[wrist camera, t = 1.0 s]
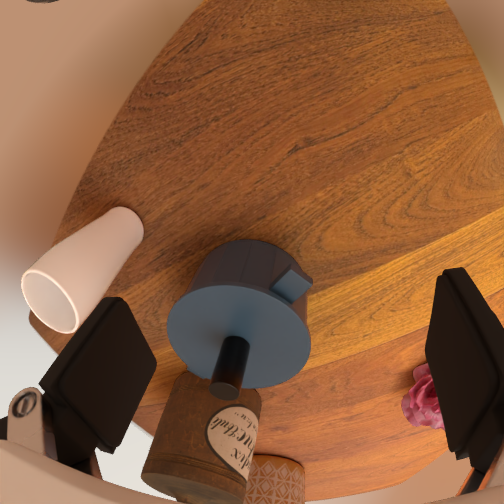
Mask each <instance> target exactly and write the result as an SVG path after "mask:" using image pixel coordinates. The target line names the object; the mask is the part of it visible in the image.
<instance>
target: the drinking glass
mask: <svg viewBox="0 0 504 504" xmlns="http://www.w3.org/2000/svg"><path fill="white" fill-rule="evenodd" d="M143 235H144V229H143V224H142V222H141V220H140V218H139V217H138V215H137V214H136V213H135V212H133V211H132V210H130V209H128V208H126V207H115V208H112V209H111V210H109V211H108V212H106V213H105V214H104V215H102V216H101V217H99V218H98V219H96V220H94V221H93V222H91V223H89V224H88V225H86V226H85V227H83V228H81V229H80V230H78V231H76V232H75V233H73V234H72V235H70V236H69V237H67V238H65V239H64V240H62V241H61V242H59V243H58V244H56V245H55V246H53V247H52V248H51V249H49V250H48V251H47V252H46V253H45V254H43V255H42V256H41V257H40V258H39V259H38V260H37V261H35V263H33V265H31V266H30V267H29V268H28V269H27V270H26V271H25V272H24V274H23V276H22V279H21V286H22V291H23V295H24V297H25V300H26V302H27V304H28V305H29V307H30V308H31V310H32V311H33V313H34V314H35V315H36V316H37V317H38V318H39V319H40V320H41V321H42V322H43V323H44V324H46V325H47V326H48V327H50V328H51V329H53V330H55V331H58V332H60V333H66V334H69V333H73V332H75V331H76V330H77V329H78V327H79V326H80V325H81V324H82V323H83V322H84V321H85V319H86V318H87V317H88V316H89V315H90V313H91V312H92V311H93V310H94V308H95V307H96V306H97V304H98V303H99V302H100V300H101V299H102V297H103V296H104V294H105V293H106V291H107V289H108V288H109V286H110V285H111V283H112V282H113V280H114V279H115V277H116V276H117V274H118V273H119V271H120V270H121V268H122V267H123V265H124V264H125V262H126V261H127V260H128V258H129V257H130V255H131V254H132V253H133V251H134V250H135V249H136V248H137V247H138V245H139V244H140V243H141V241H142V239H143Z"/></svg>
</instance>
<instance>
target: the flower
mask: <svg viewBox="0 0 504 504" xmlns="http://www.w3.org/2000/svg"><path fill="white" fill-rule="evenodd" d="M413 378H414V380H415V381H416V384H415V385H414V386H413V387H412V388H411V389H410V390H409V392H408V393H407V394H406V395H404V396H403V399H402V403H401V406H402V410H403V413H404V416H405V417H406V418H407V420H408V421H409V422H410V423H411V425H413V426H416V427H417V426H420V425H423V426H431V427H432V428H434V429H439V428H442V429H443V430H445V428H444V423H443V419H442V415H441V410H440V406H439V402H438V398H437V394H436V391H435V387H434V383H433V380H432V376H431V373H430V369H429V366H428V363H426V364H424V365H421V366H418V367H416V368H415V369H414V371H413Z"/></svg>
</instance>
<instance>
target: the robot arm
mask: <svg viewBox="0 0 504 504" xmlns="http://www.w3.org/2000/svg"><path fill="white" fill-rule="evenodd" d="M425 355H426V359H427V362H428V366H429V369H430V373H431V376H432V380H433V383H434V387H435V391H436V394H437V398H438V402H439V406H440V410H441V415H442V419H443V423H444V428H445V432H446V437H447V442H448V447H449V450H450V451H451V452H455V454H456V459H457V460H460V459H464V458H467V457H469V459H470V464H471V466H472V469H471V471H470V473H469V474H468V476H467V478H466V479H465V481H464V483H463V485H462V486H461V488H460V490H459V491H458V493H457V494H456V496H455V497H451V498H448V499H443V500H439V501H435V502H431V503H426V504H504V328H503V326H502V325H501V323H500V321H499V320H498V318H497V316H496V315H495V313H494V312H493V311H492V310H491V309H490V307H489V306H488V304H487V302H486V301H485V299H484V298H483V296H482V294H481V293H480V291H479V290H478V288H477V287H476V285H475V284H474V282H473V281H472V279H471V278H470V276H469V275H468V273H467V272H466V270H465V269H464V268H463V267H459V268H452V269H445V270H444V271H443V273H442V275H440V276H438V277H437V281H436V288H435V295H434V302H433V308H432V314H431V319H430V325H429V330H428V335H427V340H426V345H425ZM156 366H157V362H156V358H155V356H154V355H153V353H152V351H151V349H150V347H149V345H148V343H147V342H146V340H145V338H144V336H143V334H142V332H141V330H140V328H139V326H138V324H137V322H136V320H135V318H134V316H133V314H132V312H131V310H130V308H129V306H128V304H127V303H126V302H125V301H124V300H123V299H122V298H121V297H106V298H103V299H102V300H101V301H100V303H99V304H98V305H97V306H96V308H95V309H94V310H93V311H92V313H91V314H90V315H89V316H88V318H87V319H86V320H85V321H84V323H83V324H82V325H81V327H80V328H79V329H78V330H77V332H76V333H75V334H74V336H73V337H72V338H71V340H70V341H69V342H68V344H67V345H66V346H65V348H64V349H63V350H62V352H61V353H60V354H59V356H58V357H57V358H56V360H55V361H54V362H53V364H52V365H51V367H50V368H49V369H48V371H47V372H46V374H45V375H44V376H43V378H42V379H41V381H40V382H39V385H40V386H41V388H42V389H43V390H44V391H45V393H44V394H43V395H42V393H41V392H40V391H39V390H38V389H37V388H34V387H29V388H25V389H23V390H22V391H20V392H19V393H18V394H17V395H15V397H14V398H13V399H12V401H11V403H10V405H9V410H8V416H6V417H4V418H2V419H0V504H186V503H182V502H177V501H172V500H168V499H164V498H160V497H156V496H152V495H149V494H145V493H141V492H138V491H134V490H131V489H128V488H125V487H122V486H118V485H116V484H113V483H109V482H107V481H104V480H103V479H102V476H101V472H100V469H99V465H98V461H97V458H96V454H95V448H96V447H97V448H99V449H100V450H101V451H103V452H107V453H110V454H113V453H114V451H115V449H116V447H118V446H119V445H120V444H121V442H122V440H123V438H124V435H125V433H126V431H127V429H128V427H129V424H130V422H131V420H132V418H133V416H134V414H135V412H136V410H137V407H138V405H139V403H140V401H141V399H142V397H143V395H144V393H145V391H146V388H147V386H148V384H149V382H150V380H151V378H152V376H153V374H154V372H155V370H156Z"/></svg>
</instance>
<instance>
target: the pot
mask: <svg viewBox="0 0 504 504" xmlns="http://www.w3.org/2000/svg"><path fill="white" fill-rule="evenodd" d="M212 282H240V283H246V284H250V285H255V286H258V287H261V288H263V289H266V290H268V291H270V292H273V293H275V294H276V295H278V296H280V297H281V298H283V299H285V300H286V301H287V302H288V303H290V304H291V305H292V306H293V307H294V308H295V309H296V310H297V311H298V312H299V313H300V315H301V316H302V317H303V319H304V320H305V322H306V324H307V290H308V289H309V288H310V287H311V286H312V285H313V280H312V278H311V277H310V276H308V275H307V274H306V273H304V272H303V271H302V269H301V268H300V266H299V265H298V263H297V262H296V261H295V260H294V259H293V258H292V257H291V256H290V255H289V254H288V253H287V252H285V251H284V250H282V249H280V248H279V247H277V246H275V245H272V244H270V243H267V242H263V241H259V240H250V239H246V240H235V241H231V242H227V243H225V244H223V245H220V246H219V247H217V248H215V249H214V250H213V251H211V252H210V253H209V254H208V255H207V256H206V258H205V259H204V261H203V262H202V264H201V265H200V266H199V268H198V270H197V271H196V273H195V275H194V277H193V279H192V281H191V283H190V284H189V286H188V288H187V290H186V292H187V291H189V290H191V289H193V288H195V287H198V286H200V285H203V284H208V283H212ZM186 292H185V293H186ZM186 369H187V370H188V371H190V372H192V373H194V374H195V375H197V376H199V377H201V378H202V379H205V378H206V377H204V376H202V375H200V374H198V373H197V372H195V371H194V370H193V369H191V368H190V367H189V366H187V368H186Z"/></svg>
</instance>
